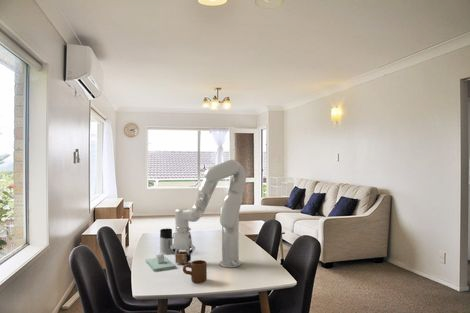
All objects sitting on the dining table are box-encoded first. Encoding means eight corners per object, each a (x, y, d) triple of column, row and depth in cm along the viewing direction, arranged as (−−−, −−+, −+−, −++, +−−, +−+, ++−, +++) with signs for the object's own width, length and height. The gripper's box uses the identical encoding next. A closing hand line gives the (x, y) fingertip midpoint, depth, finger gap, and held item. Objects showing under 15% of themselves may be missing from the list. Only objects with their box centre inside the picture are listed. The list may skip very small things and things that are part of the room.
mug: (184, 286, 168) (184, 266, 168) (181, 280, 175) (180, 262, 175) (208, 282, 173) (208, 263, 173) (204, 277, 180) (204, 259, 180)
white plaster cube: (164, 262, 201) (164, 255, 201) (157, 263, 199) (157, 256, 199) (162, 261, 204) (162, 254, 204) (156, 262, 202) (156, 255, 202)
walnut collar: (190, 260, 206) (190, 251, 206) (185, 263, 200) (185, 254, 200) (180, 259, 208) (180, 251, 208) (175, 262, 202) (175, 254, 202)
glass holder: (165, 250, 234) (164, 227, 234) (182, 252, 227) (182, 229, 228) (156, 253, 226) (156, 230, 226) (174, 256, 220) (174, 232, 220)
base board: (175, 268, 195) (175, 265, 195) (154, 271, 190) (154, 268, 190) (165, 259, 213) (165, 256, 213) (145, 262, 208) (145, 259, 208)
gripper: (198, 229, 205) (199, 259, 205) (172, 228, 211) (172, 258, 211) (193, 231, 198) (194, 263, 198) (165, 230, 204) (166, 261, 203)
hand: (183, 260), depth 204 cm, fingers closed on walnut collar, 6 cm apart
